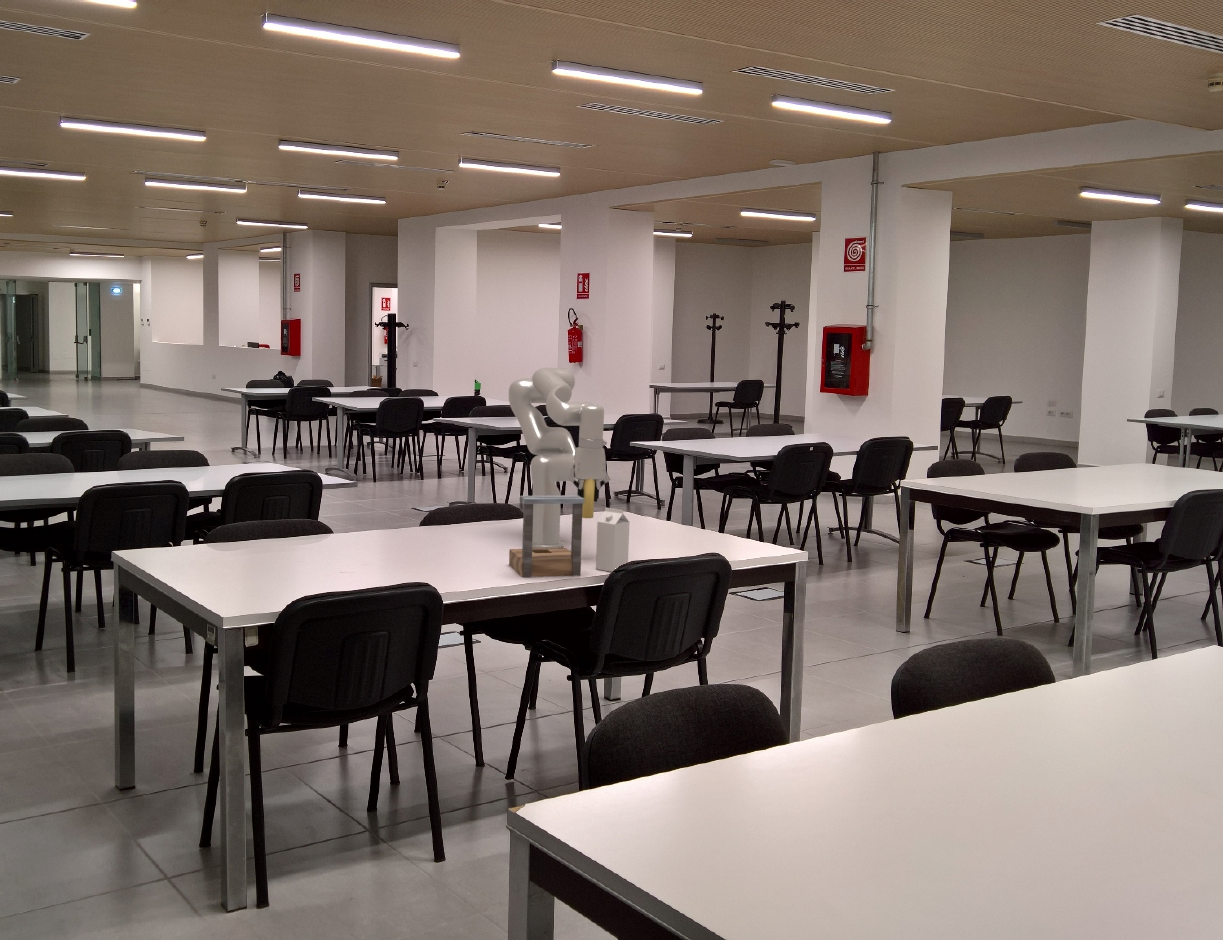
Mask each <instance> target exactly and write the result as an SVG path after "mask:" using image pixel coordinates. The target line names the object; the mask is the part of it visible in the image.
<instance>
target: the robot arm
mask: <svg viewBox="0 0 1223 940" xmlns="http://www.w3.org/2000/svg"><path fill="white" fill-rule="evenodd" d="M575 383H576V380H575V376H574V374H573V372H572V371H571V370H570V369H568V368H563V367H542V368H539V369H537V370H535V371H534V373H533V374H532V376H531V378H519V379H516V380H515V381H512V383H510V385H509V389H508V401H509V406H510V409H511V411H512V412H513V414H514V417H515V418H516V420H517V422H518V423H519V425H520V429H521V432H522V435H523V437H524V441H525V443H526V446H527V449H528V451H529V452H530V453H531V454H532V455H535V456H534V457H533V458H532V459H531V462H530V473H531V482H532V496H562V494H561V492H560V490H559V488H558V487H557V485H556V483H557V482H571V484H572V483H573V485H574V486H575V487H576V489H577V492H576V493H577V495H578V496H580V497H582V498H583V497H584V490H583V483H584V480H588V479H593V480H595V494H594V503H597V502H598V499H600V498H599V497H600V490H601V489H602V487H603V486H604V485H605V484H606V483H608V482H609V481H611V477H610V476H609V474H608V472H607V468H606V464H607V461H606V454H605V453H606V452H605V448H604V446H607V445H608V442H607V440H604V421H605V409H604V407H603V406H601V405H599V404H598V405H597V404H593V403H592V402H589V401H588V402H585V401H584V402H579V401H578V402H577V401H572V402H571V401H570V400H571V398H572V394H573V393H572V391H573V390H574V388H575ZM532 404H545V409H546V413H547V415H548V417H549V418H550V419H552V421H553V422H554V423H556V424H557V425H560V426H563V427H560V426H559V427H557V426H556V427H555V426H554V427H552V426H551V427H550V426H548V425H547V422H546V421H545V418H544V416H543V414H542V412H540V411H539V410H538V409H537V407H535V406H534V405H532ZM566 426H567V427H569V426H570V427H571V426H572V427H573V426H576V427H577V426H579V431H578V432H579V434H578V447H576V445H575V442H574V440H573V437H572V435H571V433H570V431H568V429H567V428H564V427H566ZM577 495H576V496H577ZM560 534H561V504H533V538H532V549H534V548H564V546H565V544H564V542H563V541H561V540H560V539H561V537H560Z"/></svg>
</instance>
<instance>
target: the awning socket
mask: <svg viewBox="0 0 1223 940" xmlns="http://www.w3.org/2000/svg"><path fill="white" fill-rule="evenodd" d="M584 500H585V499H584V498H582V497H580V496H578V495H561V496H533V495H520V496H519V502H521V503H523V507H522V508H523V512H522V513H523V514H522V515H523V517H522V547H521V548H509V554H508V555H509V557H508V559H509V560H508V562H509V563H508V565H509V566H510V567H511V568H512V569H513V570H514V571H515V572H516V573H517V574H518V575H519V576H521V578H533V577H534V578H535V577H564V576H565V577H569V576H572V577H580V576H581V575H582V573H581V572H582V570H581V569H582V536H583V535H582V534H583V533H582V532H583V531H582V530H583V518H582V508H583V503H584ZM533 504H563V505H564V504H565V505H567V504H570V505H571V504H572V510H571V511H572V517H571V541H570V546H571V547H570V550H569V549H568V548H567V547H561V548H532V538H533Z"/></svg>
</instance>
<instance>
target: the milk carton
mask: <svg viewBox="0 0 1223 940" xmlns="http://www.w3.org/2000/svg"><path fill="white" fill-rule="evenodd" d="M596 528H597V529H596V549H595V550H596V553H595V554H596V555H595V570H600V571H605V572H611V573H613V572H612V571H613V570H614V569H615V568H617V567H618V566H621V565H623V564H625V563H627V562H628V563H629V549H630V547H629V544H630V520H629V519H628V518H627V517H626V516H625V514H624V510H623V509H617V508H611V507H605V508H604V511H603V513H602V514H601V515H600V517H599V519H598V520H597V524H596Z"/></svg>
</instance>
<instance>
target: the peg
mask: <svg viewBox="0 0 1223 940" xmlns="http://www.w3.org/2000/svg"><path fill="white" fill-rule="evenodd" d="M583 490H584V497H583V498H584V499H585V500H584V503H583V508H582V519H593V518H594V514H595V513H594V512H595V511H594V509H595V501H594V494H595V480H593V479H588V480H584V483H583Z"/></svg>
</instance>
